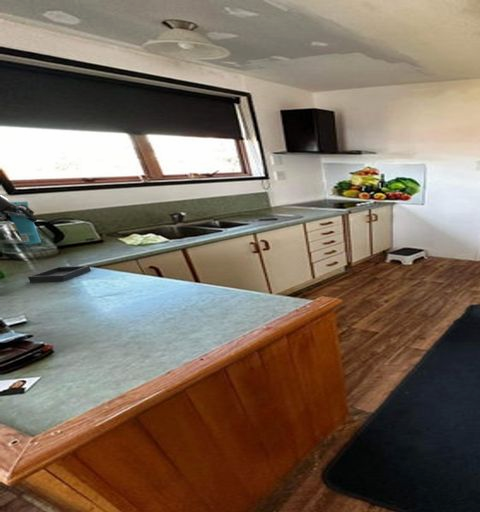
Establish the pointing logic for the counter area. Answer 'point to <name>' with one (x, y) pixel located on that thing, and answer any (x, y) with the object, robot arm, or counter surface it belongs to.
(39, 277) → the tray
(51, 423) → the counter surface
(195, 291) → the counter surface
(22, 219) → the tube
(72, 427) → the counter surface
